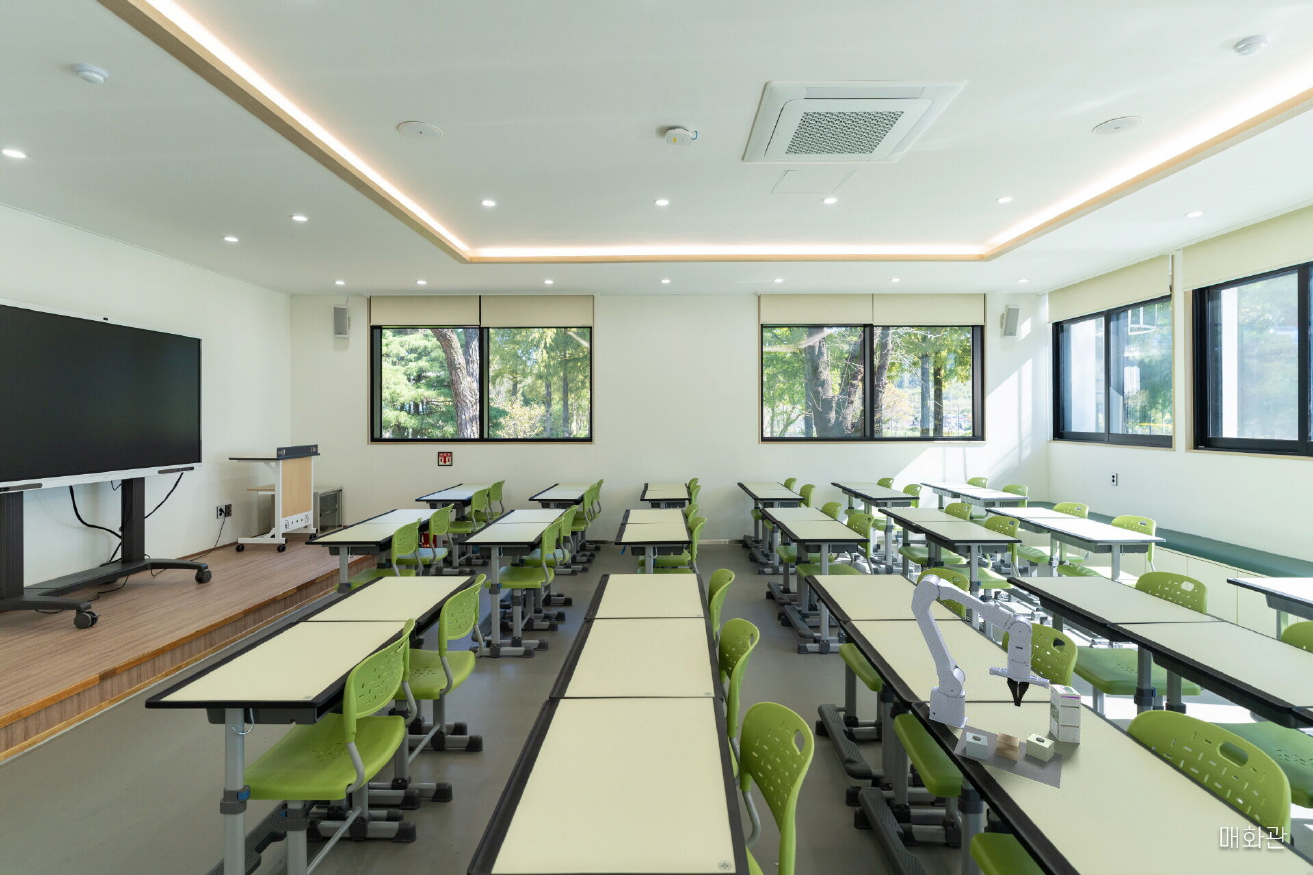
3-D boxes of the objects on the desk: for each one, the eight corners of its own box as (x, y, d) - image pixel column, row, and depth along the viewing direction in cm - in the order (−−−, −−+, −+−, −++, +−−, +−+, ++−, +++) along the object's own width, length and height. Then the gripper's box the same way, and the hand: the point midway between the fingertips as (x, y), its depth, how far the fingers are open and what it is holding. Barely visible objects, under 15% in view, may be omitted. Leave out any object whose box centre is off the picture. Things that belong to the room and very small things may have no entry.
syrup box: (1080, 744, 162) (1082, 694, 162) (1057, 742, 163) (1059, 692, 163) (1070, 733, 168) (1072, 685, 167) (1048, 731, 169) (1049, 683, 168)
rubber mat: (953, 754, 157) (953, 752, 157) (965, 725, 172) (965, 724, 171) (1059, 789, 143) (1059, 787, 143) (1062, 755, 157) (1062, 754, 157)
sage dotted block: (1026, 753, 157) (1026, 738, 157) (1033, 746, 160) (1033, 732, 160) (1046, 762, 153) (1047, 746, 153) (1053, 755, 156) (1054, 740, 156)
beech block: (996, 754, 157) (996, 740, 156) (998, 745, 161) (999, 732, 160) (1017, 761, 154) (1018, 746, 153) (1019, 752, 158) (1020, 738, 157)
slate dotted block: (966, 754, 156) (966, 739, 156) (965, 745, 161) (966, 730, 161) (987, 760, 154) (987, 744, 154) (986, 750, 158) (986, 735, 158)
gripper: (988, 656, 165) (986, 702, 166) (1048, 670, 157) (1046, 719, 157) (991, 649, 171) (990, 693, 172) (1050, 662, 162) (1048, 708, 163)
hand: (1017, 704), depth 165 cm, fingers closed
